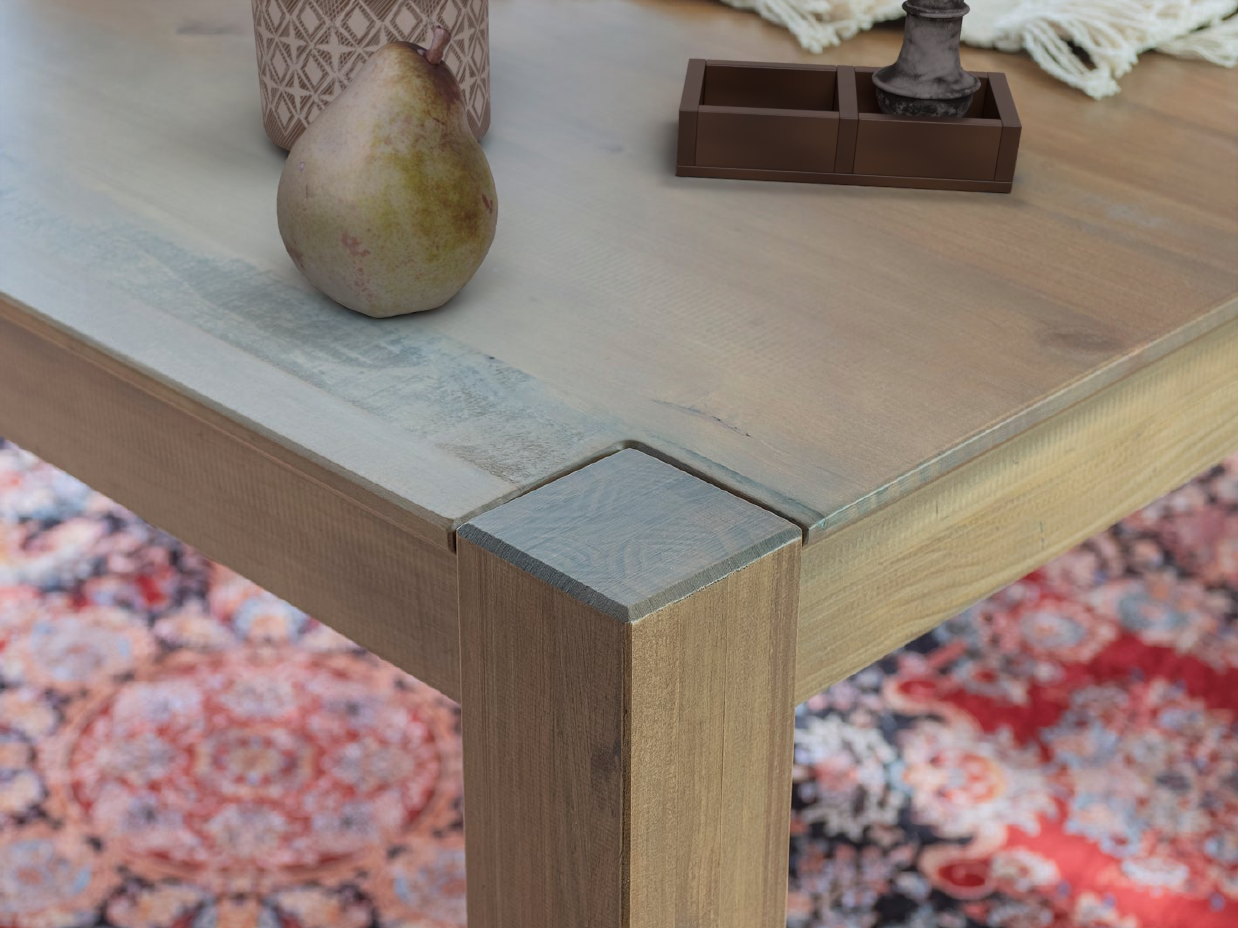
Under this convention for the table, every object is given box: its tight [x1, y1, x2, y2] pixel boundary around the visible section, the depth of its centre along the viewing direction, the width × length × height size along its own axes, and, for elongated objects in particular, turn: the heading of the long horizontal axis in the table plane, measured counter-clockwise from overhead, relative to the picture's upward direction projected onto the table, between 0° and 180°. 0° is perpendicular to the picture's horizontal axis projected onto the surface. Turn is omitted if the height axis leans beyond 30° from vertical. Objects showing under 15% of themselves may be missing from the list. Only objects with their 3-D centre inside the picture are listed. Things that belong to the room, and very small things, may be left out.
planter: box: [250, 0, 491, 152], centre depth 91 cm, size 13×13×10 cm
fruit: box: [276, 25, 499, 319], centre depth 73 cm, size 10×9×12 cm
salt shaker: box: [872, 0, 981, 118], centre depth 89 cm, size 6×6×12 cm
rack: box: [675, 57, 1023, 194], centre depth 92 cm, size 18×10×4 cm, turn 84°
